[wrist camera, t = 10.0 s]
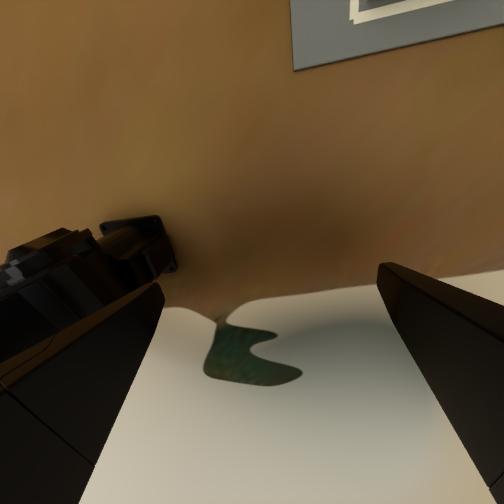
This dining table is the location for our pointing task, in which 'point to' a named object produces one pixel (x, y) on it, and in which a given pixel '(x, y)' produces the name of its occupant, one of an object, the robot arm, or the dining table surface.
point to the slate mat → (380, 25)
